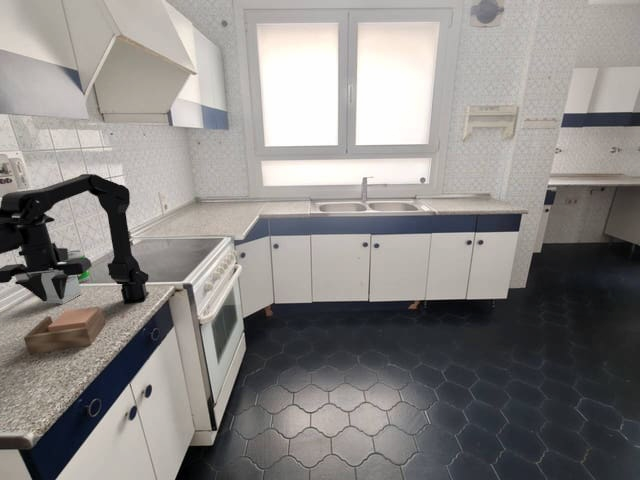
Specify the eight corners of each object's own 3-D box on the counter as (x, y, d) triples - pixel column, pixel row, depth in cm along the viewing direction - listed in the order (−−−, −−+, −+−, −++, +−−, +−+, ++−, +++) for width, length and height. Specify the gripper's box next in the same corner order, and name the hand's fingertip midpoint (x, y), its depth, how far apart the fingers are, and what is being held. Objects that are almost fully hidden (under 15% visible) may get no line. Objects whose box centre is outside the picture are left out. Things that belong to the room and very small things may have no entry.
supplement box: (63, 304, 105) (52, 270, 101) (45, 302, 106) (34, 269, 102) (83, 294, 112) (74, 262, 108) (66, 293, 113) (57, 261, 109)
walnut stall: (106, 323, 93) (102, 309, 91) (91, 344, 83) (86, 328, 82) (51, 331, 89) (46, 316, 88) (29, 354, 80) (23, 337, 78)
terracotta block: (102, 319, 96) (99, 306, 95) (88, 336, 87) (84, 322, 86) (69, 323, 94) (65, 310, 93) (52, 341, 86) (47, 327, 84)
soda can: (64, 286, 119) (55, 257, 115) (70, 279, 125) (62, 251, 121) (87, 282, 121) (80, 254, 118) (92, 275, 128) (85, 248, 124)
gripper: (92, 231, 86) (105, 282, 90) (11, 237, 81) (29, 291, 86) (73, 243, 75) (89, 300, 80) (-21, 251, 71) (2, 311, 75)
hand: (53, 299), depth 81 cm, fingers open, 3 cm apart
